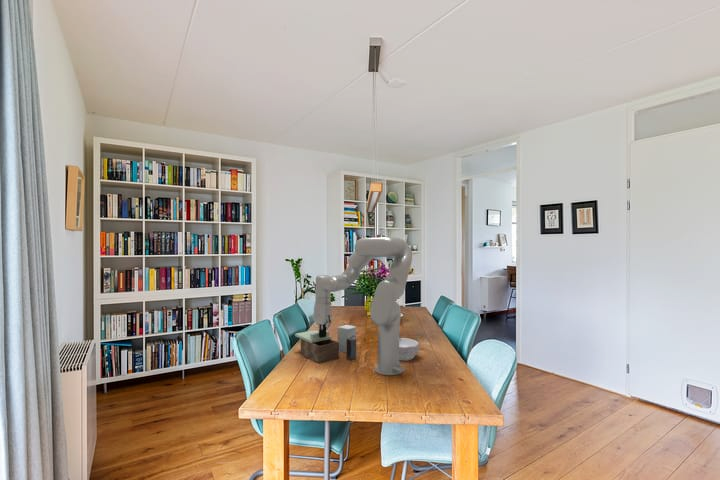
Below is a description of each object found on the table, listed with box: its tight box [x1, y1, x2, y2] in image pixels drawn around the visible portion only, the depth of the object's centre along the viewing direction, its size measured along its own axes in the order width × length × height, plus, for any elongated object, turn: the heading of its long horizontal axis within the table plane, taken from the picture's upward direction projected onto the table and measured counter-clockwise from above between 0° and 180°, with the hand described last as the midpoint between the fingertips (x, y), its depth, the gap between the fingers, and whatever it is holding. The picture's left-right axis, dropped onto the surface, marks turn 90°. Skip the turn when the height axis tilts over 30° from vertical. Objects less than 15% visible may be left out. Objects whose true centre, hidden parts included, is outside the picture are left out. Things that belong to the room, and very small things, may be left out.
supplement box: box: [337, 324, 357, 354], centre depth 186 cm, size 7×7×13 cm
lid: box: [294, 329, 332, 343], centre depth 180 cm, size 16×12×4 cm
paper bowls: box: [399, 337, 420, 362], centre depth 175 cm, size 15×15×8 cm
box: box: [300, 338, 340, 365], centre depth 178 cm, size 22×12×8 cm, turn 39°
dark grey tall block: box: [346, 338, 357, 362], centre depth 172 cm, size 3×3×10 cm
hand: (322, 337), depth 173 cm, fingers closed
